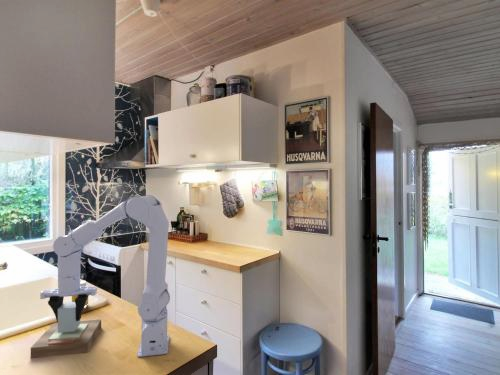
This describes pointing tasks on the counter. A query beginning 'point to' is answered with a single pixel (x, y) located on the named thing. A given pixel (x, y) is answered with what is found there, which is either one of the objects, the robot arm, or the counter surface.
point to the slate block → (67, 318)
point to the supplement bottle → (83, 284)
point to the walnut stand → (66, 340)
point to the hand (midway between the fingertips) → (69, 320)
